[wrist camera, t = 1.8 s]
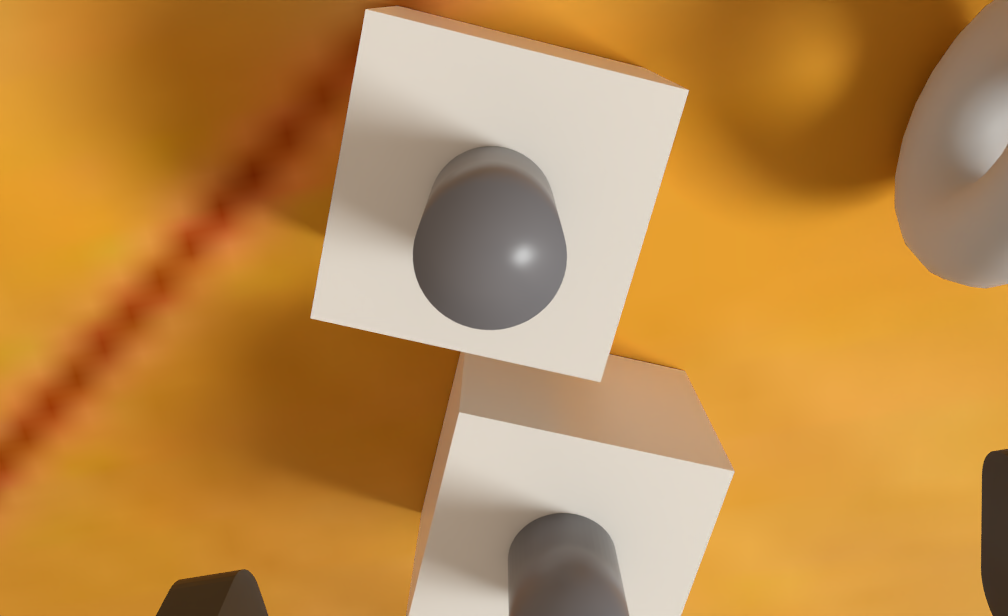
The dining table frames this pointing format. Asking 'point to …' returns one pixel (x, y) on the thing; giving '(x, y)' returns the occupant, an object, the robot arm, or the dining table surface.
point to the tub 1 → (492, 191)
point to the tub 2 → (567, 493)
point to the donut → (960, 159)
